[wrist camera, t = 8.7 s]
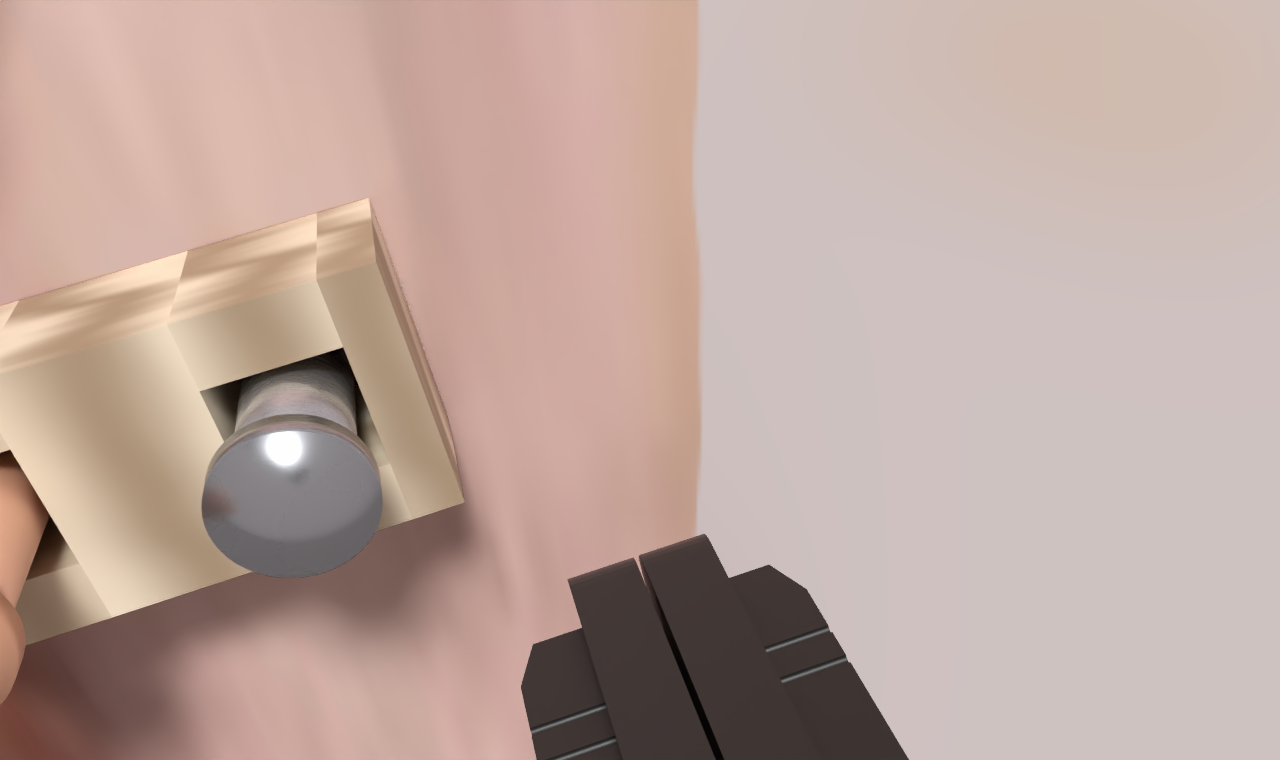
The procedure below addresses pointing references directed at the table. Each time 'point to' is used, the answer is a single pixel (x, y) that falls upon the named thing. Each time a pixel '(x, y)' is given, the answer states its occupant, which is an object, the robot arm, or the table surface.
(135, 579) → the beige rectangular block
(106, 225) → the table surface
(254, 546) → the steel plunger
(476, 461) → the table surface
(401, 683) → the table surface
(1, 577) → the terracotta plunger
